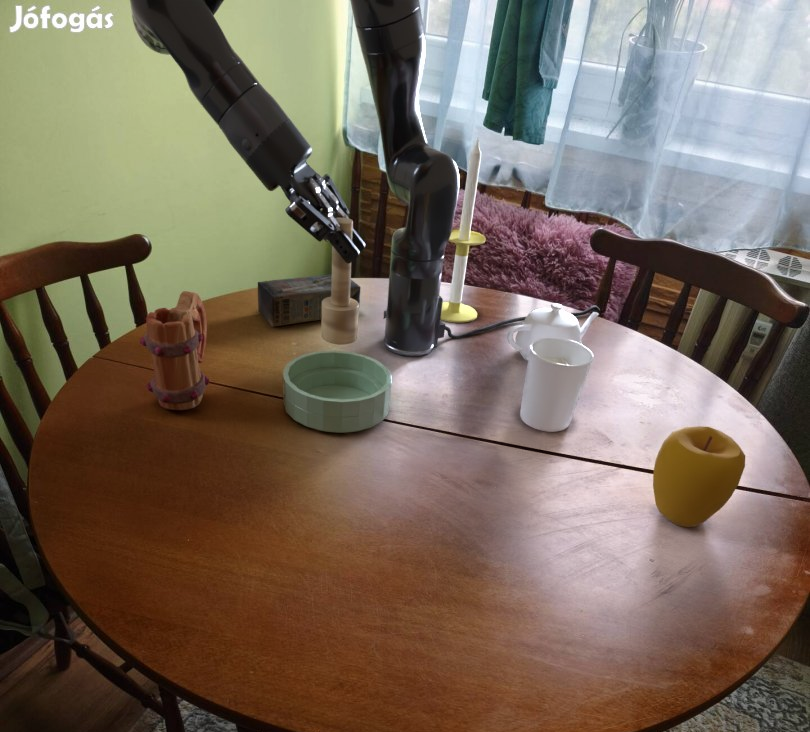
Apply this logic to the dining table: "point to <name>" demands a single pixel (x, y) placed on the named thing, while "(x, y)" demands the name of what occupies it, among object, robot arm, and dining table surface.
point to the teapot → (547, 328)
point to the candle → (464, 246)
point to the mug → (178, 352)
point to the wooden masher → (340, 299)
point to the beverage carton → (297, 298)
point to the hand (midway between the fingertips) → (357, 254)
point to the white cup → (554, 382)
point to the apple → (696, 474)
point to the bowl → (336, 391)
